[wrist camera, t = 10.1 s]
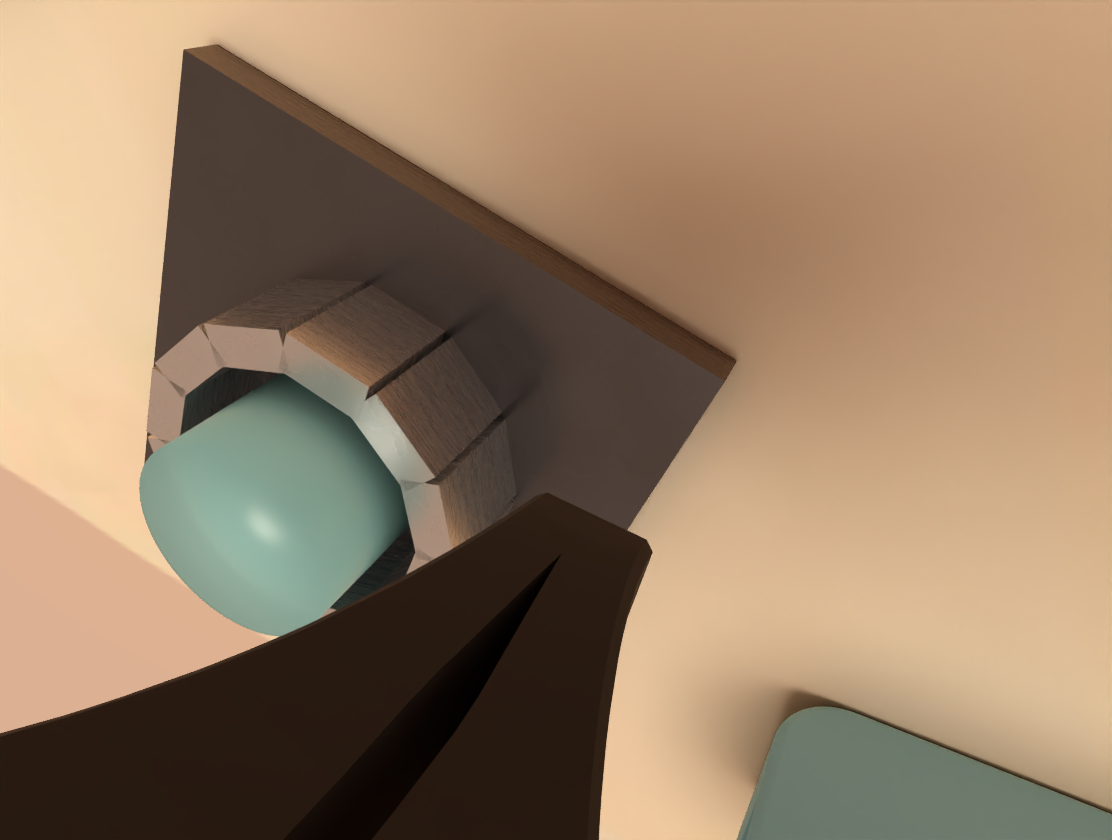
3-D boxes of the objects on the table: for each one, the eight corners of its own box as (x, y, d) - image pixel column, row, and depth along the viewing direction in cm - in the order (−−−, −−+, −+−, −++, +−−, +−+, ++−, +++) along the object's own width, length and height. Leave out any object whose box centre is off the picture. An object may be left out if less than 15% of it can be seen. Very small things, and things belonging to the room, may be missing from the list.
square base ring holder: (216, 45, 19) (66, 67, 16) (736, 361, 18) (680, 454, 15) (167, 455, 28) (63, 522, 25) (516, 697, 26) (450, 802, 23)
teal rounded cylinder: (287, 319, 21) (126, 408, 17) (458, 389, 20) (326, 502, 16) (290, 472, 24) (152, 578, 20) (439, 541, 23) (323, 670, 19)
